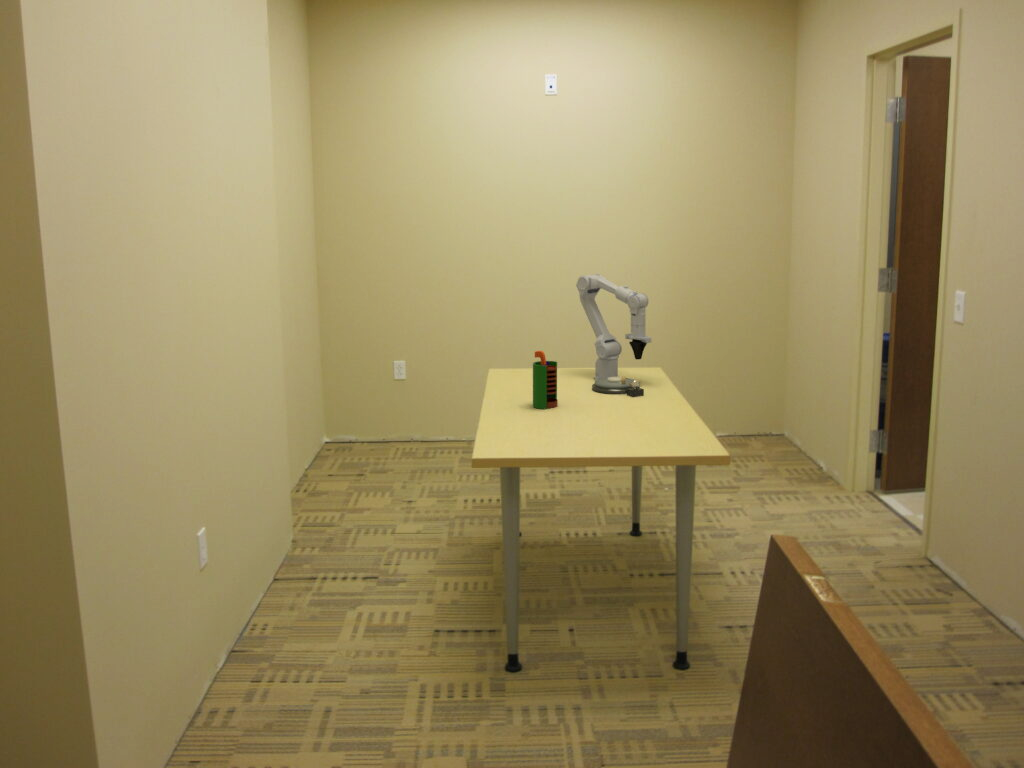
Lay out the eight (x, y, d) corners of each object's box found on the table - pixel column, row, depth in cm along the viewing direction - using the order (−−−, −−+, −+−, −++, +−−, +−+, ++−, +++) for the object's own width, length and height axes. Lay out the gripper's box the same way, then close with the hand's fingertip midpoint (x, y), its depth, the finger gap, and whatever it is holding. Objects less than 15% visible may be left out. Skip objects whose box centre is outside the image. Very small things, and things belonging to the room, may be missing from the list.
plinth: (583, 387, 353) (583, 384, 353) (620, 382, 361) (620, 378, 361) (609, 396, 337) (609, 392, 337) (648, 390, 346) (648, 386, 345)
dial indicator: (624, 394, 340) (624, 379, 338) (635, 393, 342) (635, 377, 341) (632, 397, 335) (633, 381, 334) (643, 395, 338) (643, 379, 336)
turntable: (608, 391, 339) (608, 379, 338) (587, 383, 353) (587, 372, 352) (644, 386, 345) (644, 375, 344) (622, 379, 359) (622, 368, 358)
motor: (555, 409, 319) (554, 354, 314) (530, 408, 320) (529, 353, 316) (559, 403, 328) (559, 349, 324) (535, 402, 330) (534, 348, 326)
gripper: (618, 323, 356) (619, 357, 359) (640, 327, 343) (641, 362, 346) (633, 322, 359) (633, 355, 362) (655, 326, 347) (655, 360, 349)
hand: (638, 359), depth 354 cm, fingers closed
